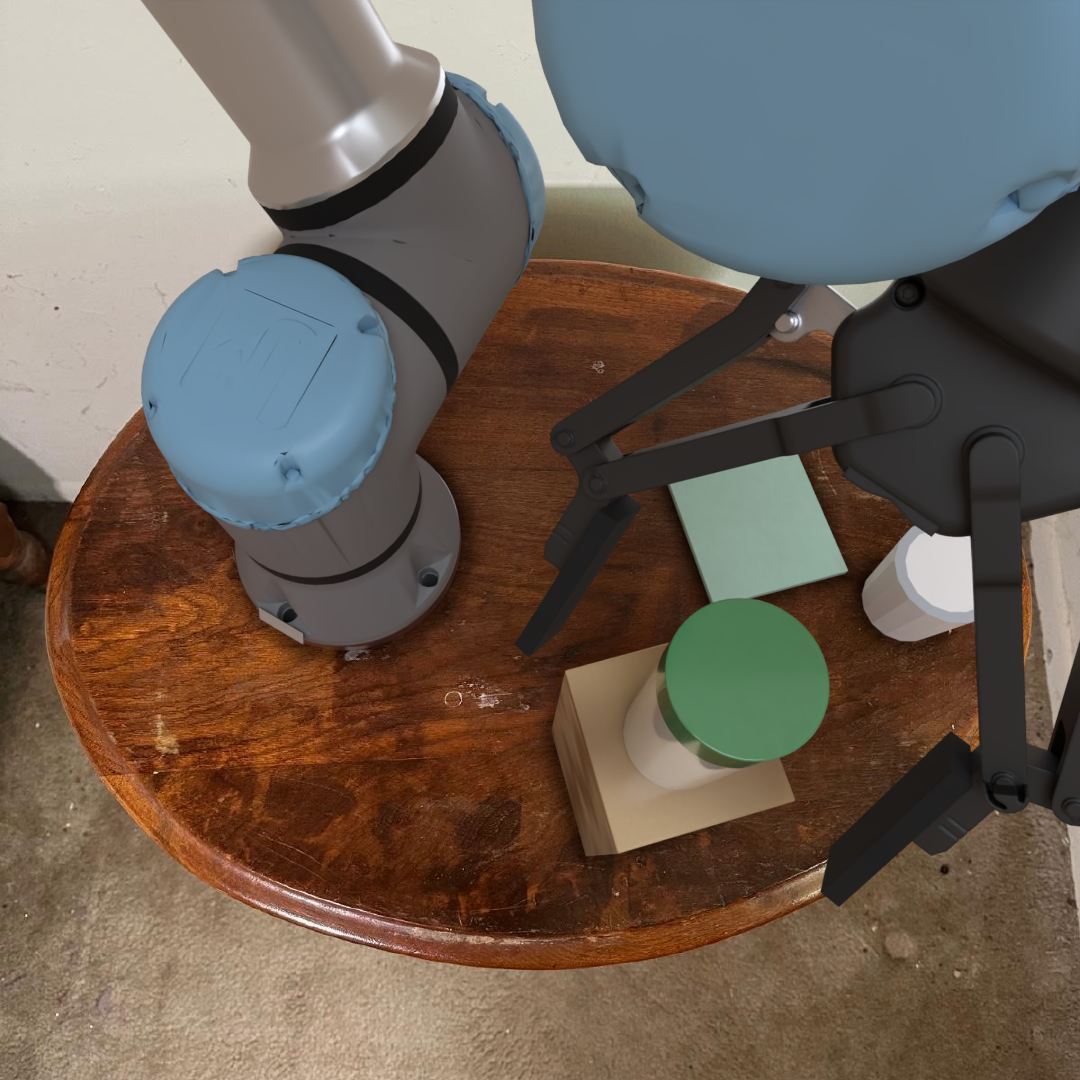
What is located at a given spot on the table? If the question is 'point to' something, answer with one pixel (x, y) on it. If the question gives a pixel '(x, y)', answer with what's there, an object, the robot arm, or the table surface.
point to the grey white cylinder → (921, 587)
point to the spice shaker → (727, 695)
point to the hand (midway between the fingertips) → (678, 752)
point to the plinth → (614, 782)
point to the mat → (756, 529)
